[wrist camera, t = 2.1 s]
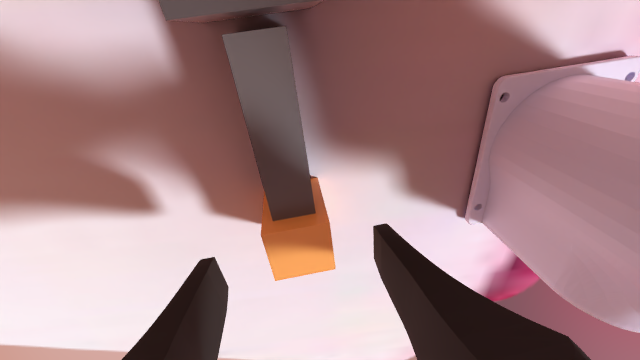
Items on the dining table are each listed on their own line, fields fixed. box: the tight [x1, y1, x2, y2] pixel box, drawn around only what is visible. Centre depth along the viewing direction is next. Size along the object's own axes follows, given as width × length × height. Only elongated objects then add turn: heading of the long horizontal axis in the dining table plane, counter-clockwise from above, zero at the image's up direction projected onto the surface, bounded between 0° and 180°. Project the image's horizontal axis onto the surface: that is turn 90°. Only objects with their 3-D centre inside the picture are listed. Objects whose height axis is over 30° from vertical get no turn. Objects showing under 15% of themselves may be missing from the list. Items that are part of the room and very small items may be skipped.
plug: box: [159, 0, 335, 281], centre depth 11 cm, size 16×4×4 cm, turn 7°
